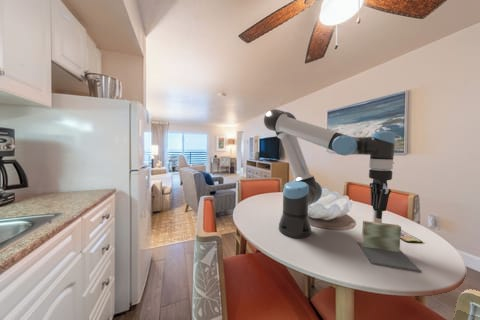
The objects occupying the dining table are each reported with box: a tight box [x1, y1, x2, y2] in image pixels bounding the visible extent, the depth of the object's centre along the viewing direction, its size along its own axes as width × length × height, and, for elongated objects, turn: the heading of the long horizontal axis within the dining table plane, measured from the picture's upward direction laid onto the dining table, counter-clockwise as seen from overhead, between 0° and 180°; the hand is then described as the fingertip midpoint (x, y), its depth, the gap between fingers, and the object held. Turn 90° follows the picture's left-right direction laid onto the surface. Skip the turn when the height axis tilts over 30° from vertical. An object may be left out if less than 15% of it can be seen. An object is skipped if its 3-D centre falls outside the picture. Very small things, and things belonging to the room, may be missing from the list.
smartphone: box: [400, 229, 423, 244], centre depth 84 cm, size 7×1×15 cm
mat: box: [357, 241, 422, 273], centre depth 67 cm, size 14×14×1 cm
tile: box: [361, 220, 402, 252], centre depth 71 cm, size 12×2×10 cm, turn 73°
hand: (376, 224), depth 75 cm, fingers closed
